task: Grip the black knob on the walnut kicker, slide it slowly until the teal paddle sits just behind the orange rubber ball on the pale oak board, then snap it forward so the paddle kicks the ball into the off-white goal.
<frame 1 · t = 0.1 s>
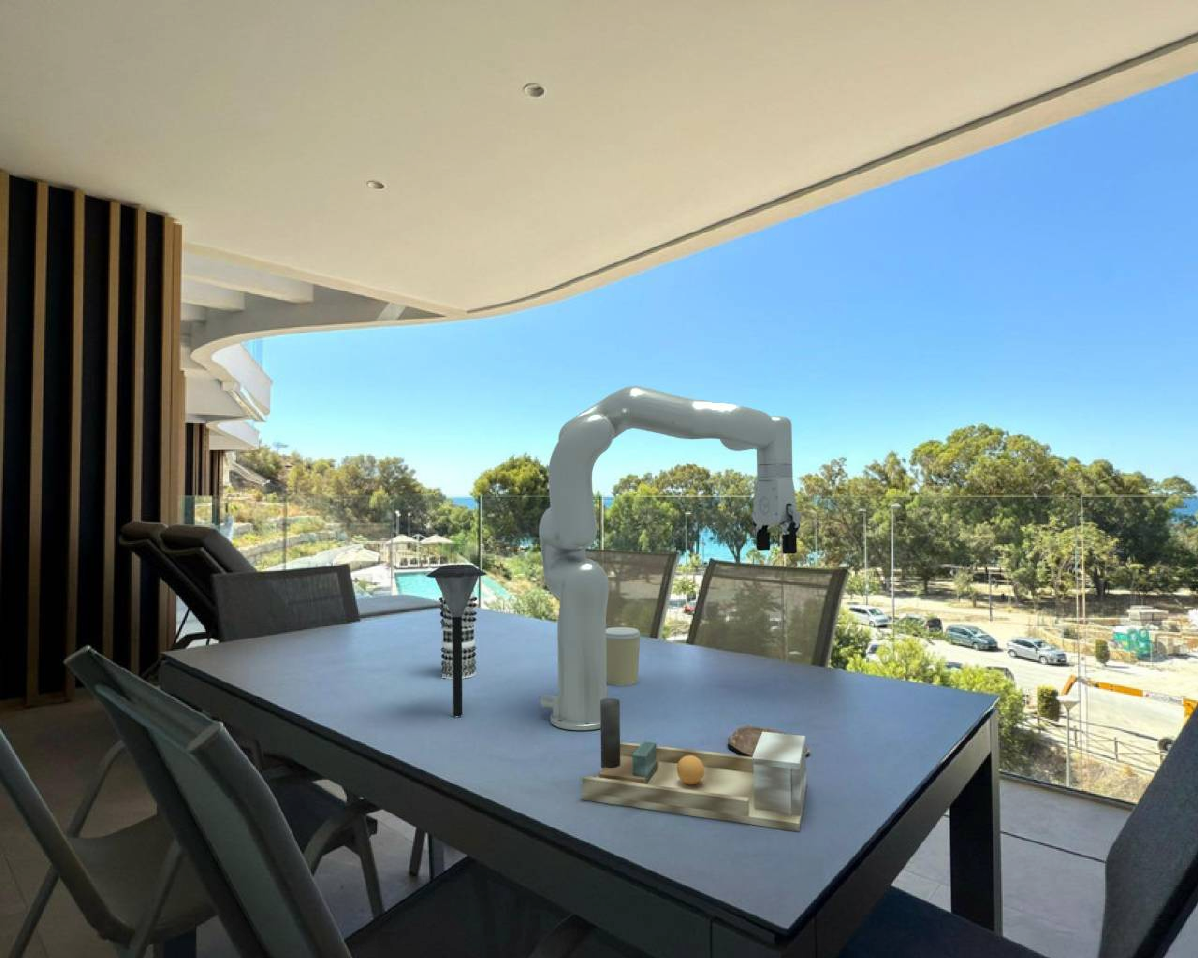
hand: (776, 551, 151), 31 cm above the table, tool pointing down, fingers open, 9 cm apart
coffee cup: (621, 682, 164), on the table
decorative candle: (458, 676, 171), on the table
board: (697, 791, 102), on the table
kicker: (625, 737, 106), point 7 cm above the table, slide at 0.0 cm
solar garden light: (457, 717, 139), on the table
ball: (690, 769, 102), point 3 cm above the table, touching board
shell: (763, 751, 119), on the table
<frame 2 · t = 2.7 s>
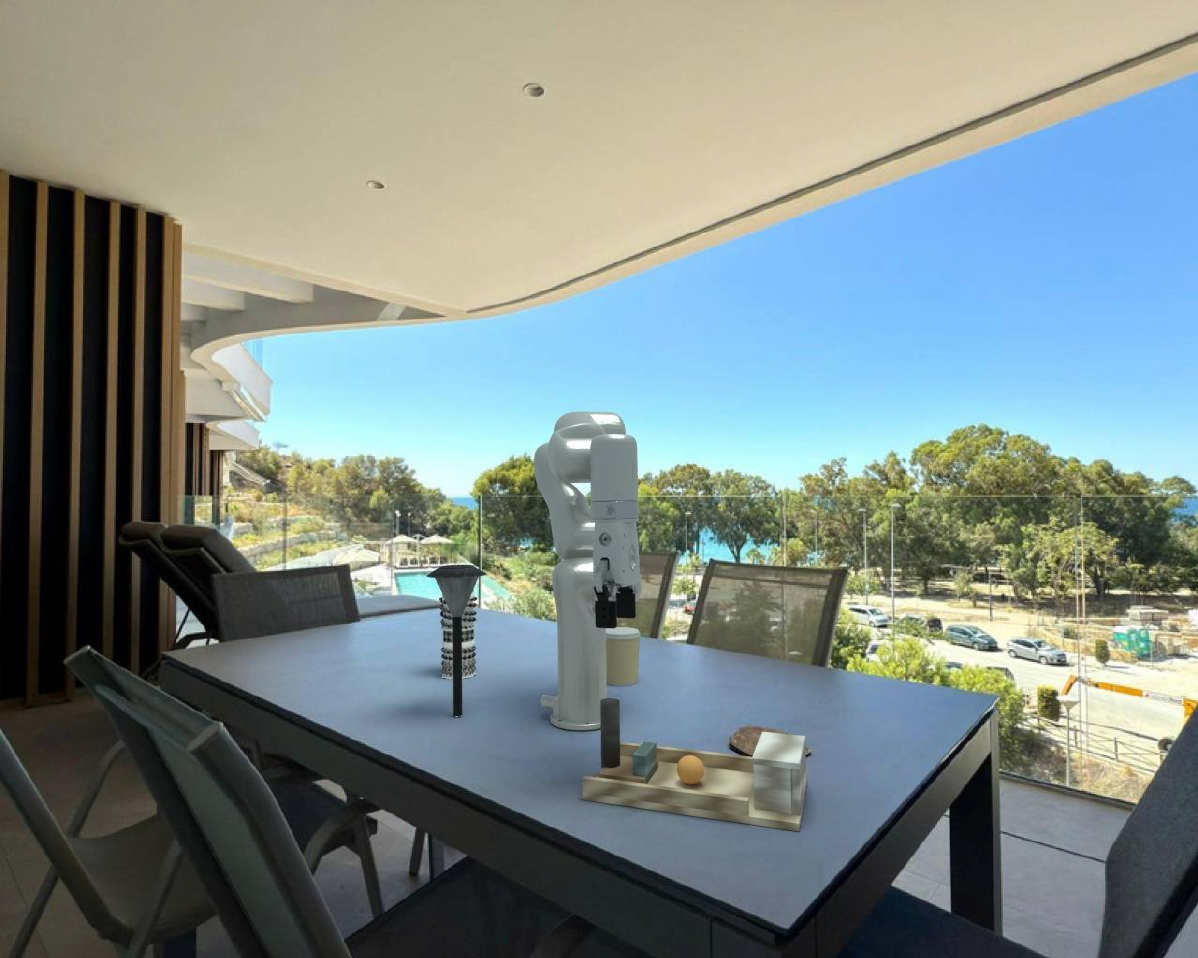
hand: (616, 622, 108), 24 cm above the table, tool pointing down, fingers open, 9 cm apart
nothing on the table moved.
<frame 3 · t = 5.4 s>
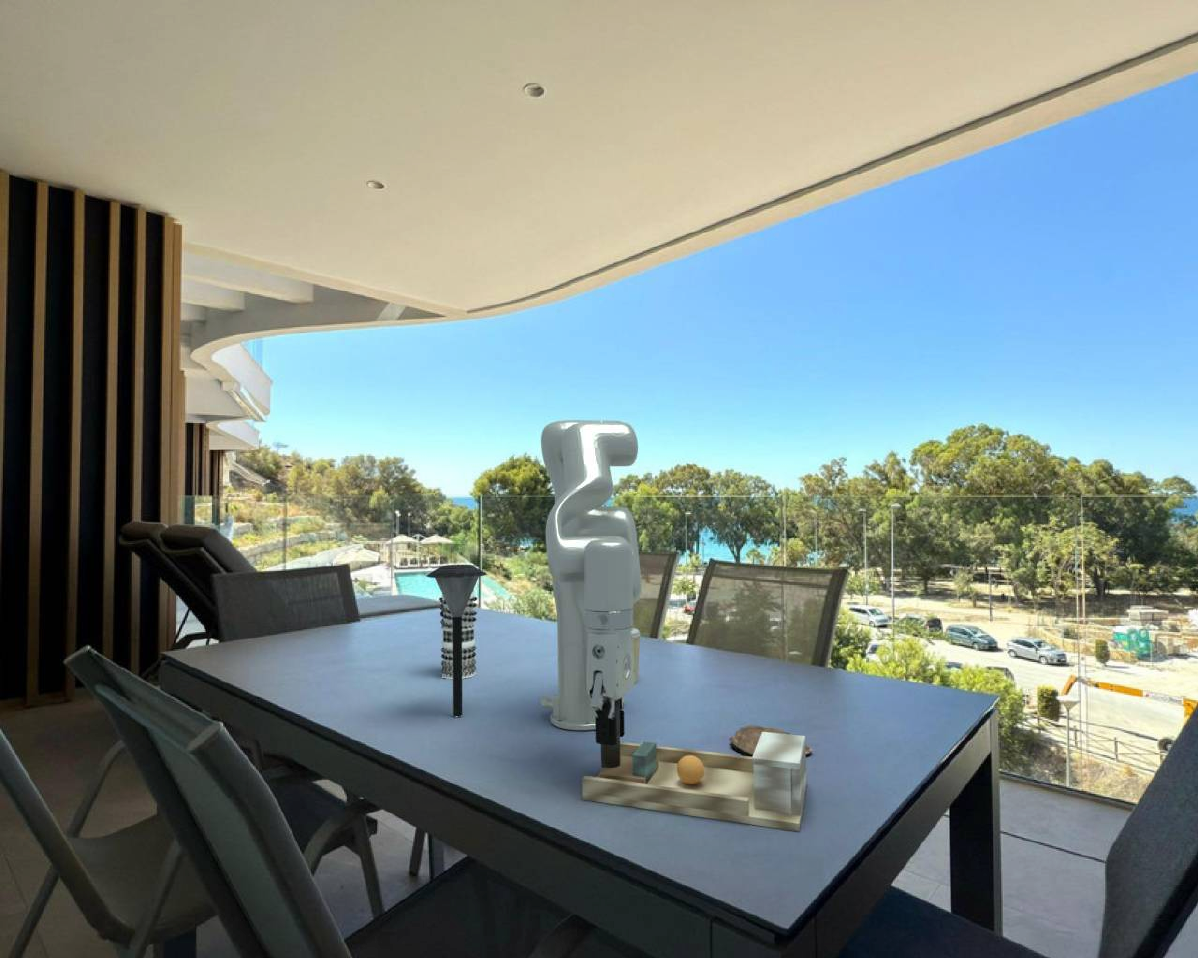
hand: (610, 738, 107), 6 cm above the table, tool pointing down, fingers closed on kicker, 3 cm apart
kicker: (625, 737, 106), point 7 cm above the table, slide at 0.0 cm, touching gripper
everything else where it was.
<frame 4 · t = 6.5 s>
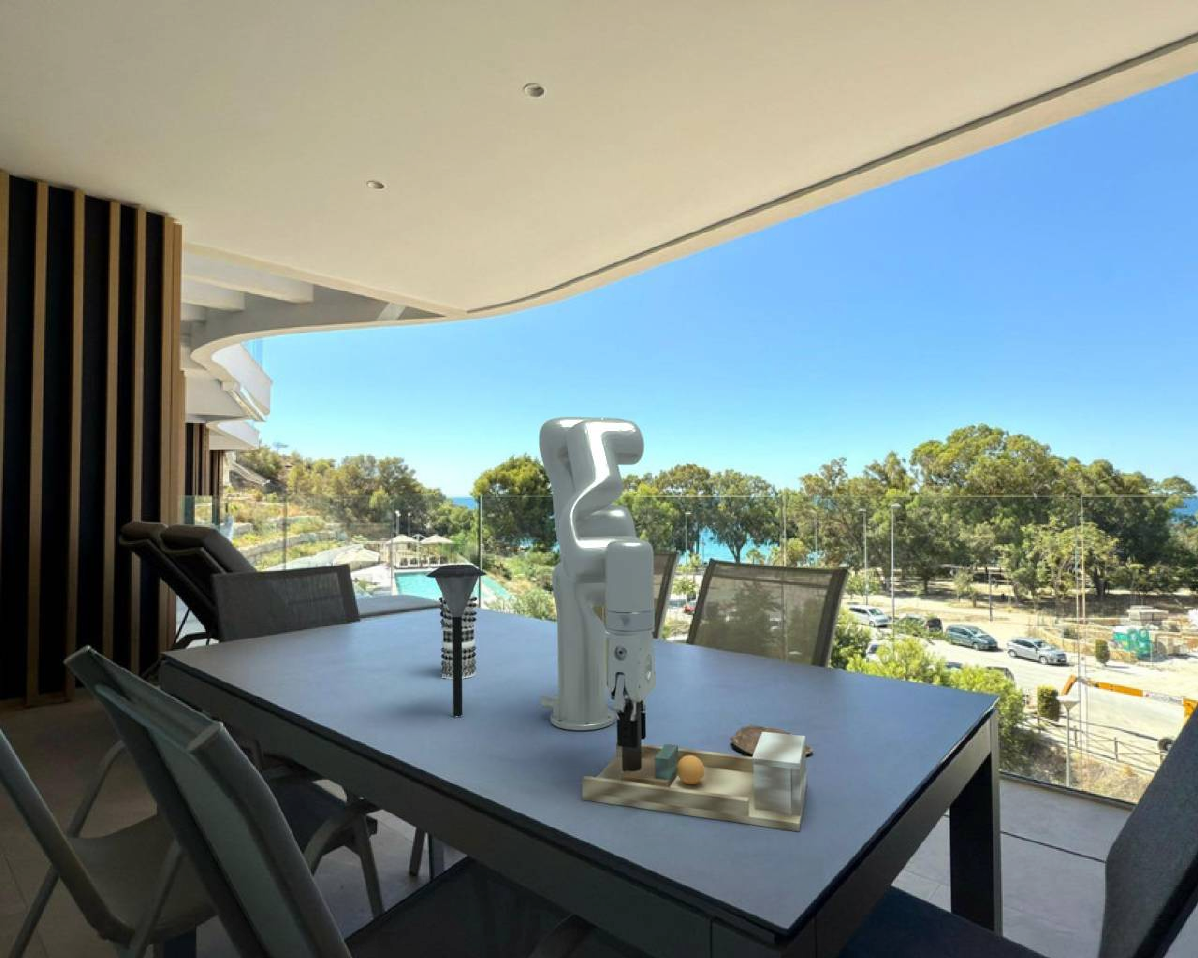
hand: (631, 740, 105), 6 cm above the table, tool pointing down, fingers closed on kicker, 3 cm apart
kicker: (647, 739, 105), point 7 cm above the table, slide at 3.4 cm, touching gripper
everything else where it was.
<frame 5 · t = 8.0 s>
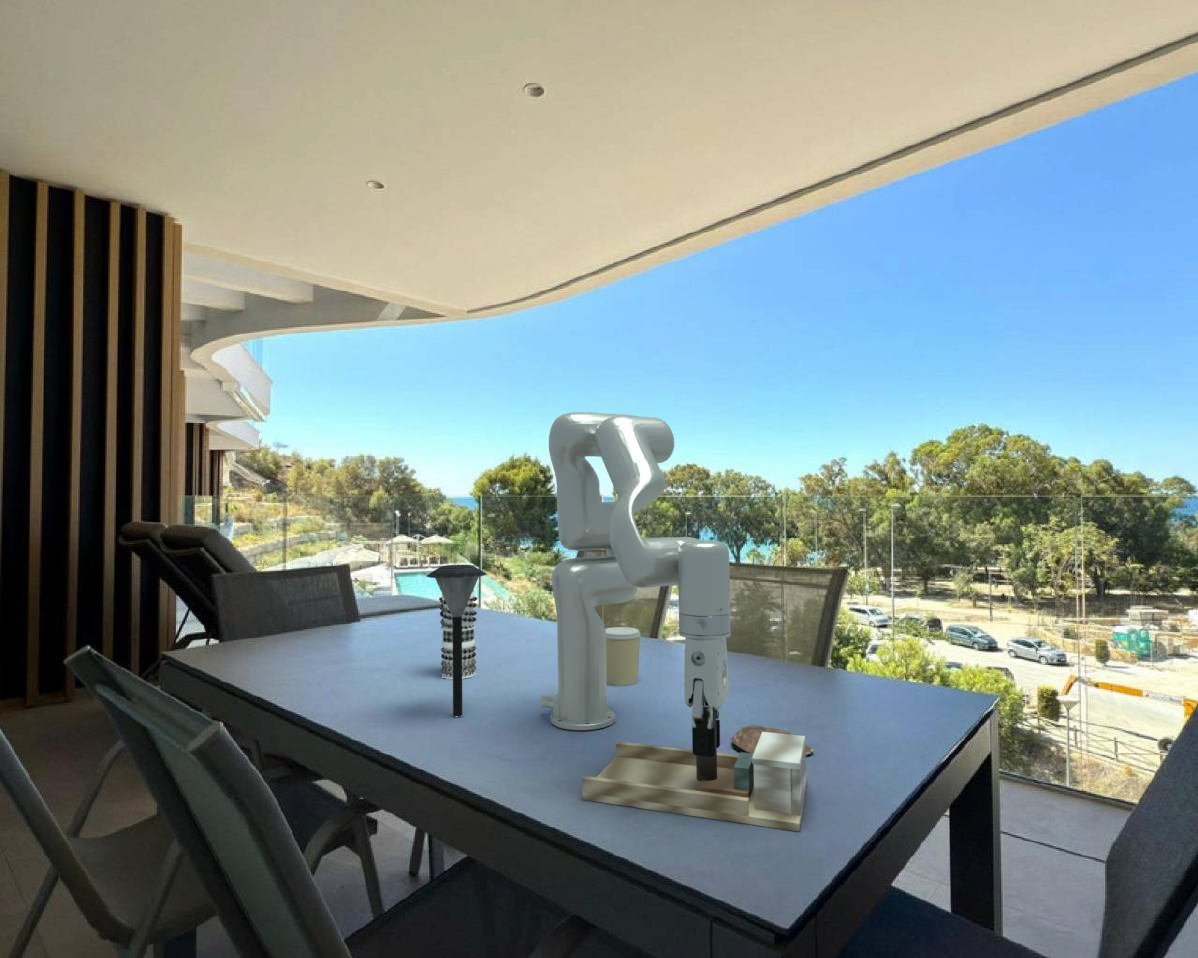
hand: (706, 749, 102), 6 cm above the table, tool pointing down, fingers closed on kicker, 3 cm apart
kicker: (723, 748, 101), point 7 cm above the table, slide at 14.9 cm, touching gripper
ball: (775, 780, 98), point 3 cm above the table, tilted 26°, touching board
everything else where it was.
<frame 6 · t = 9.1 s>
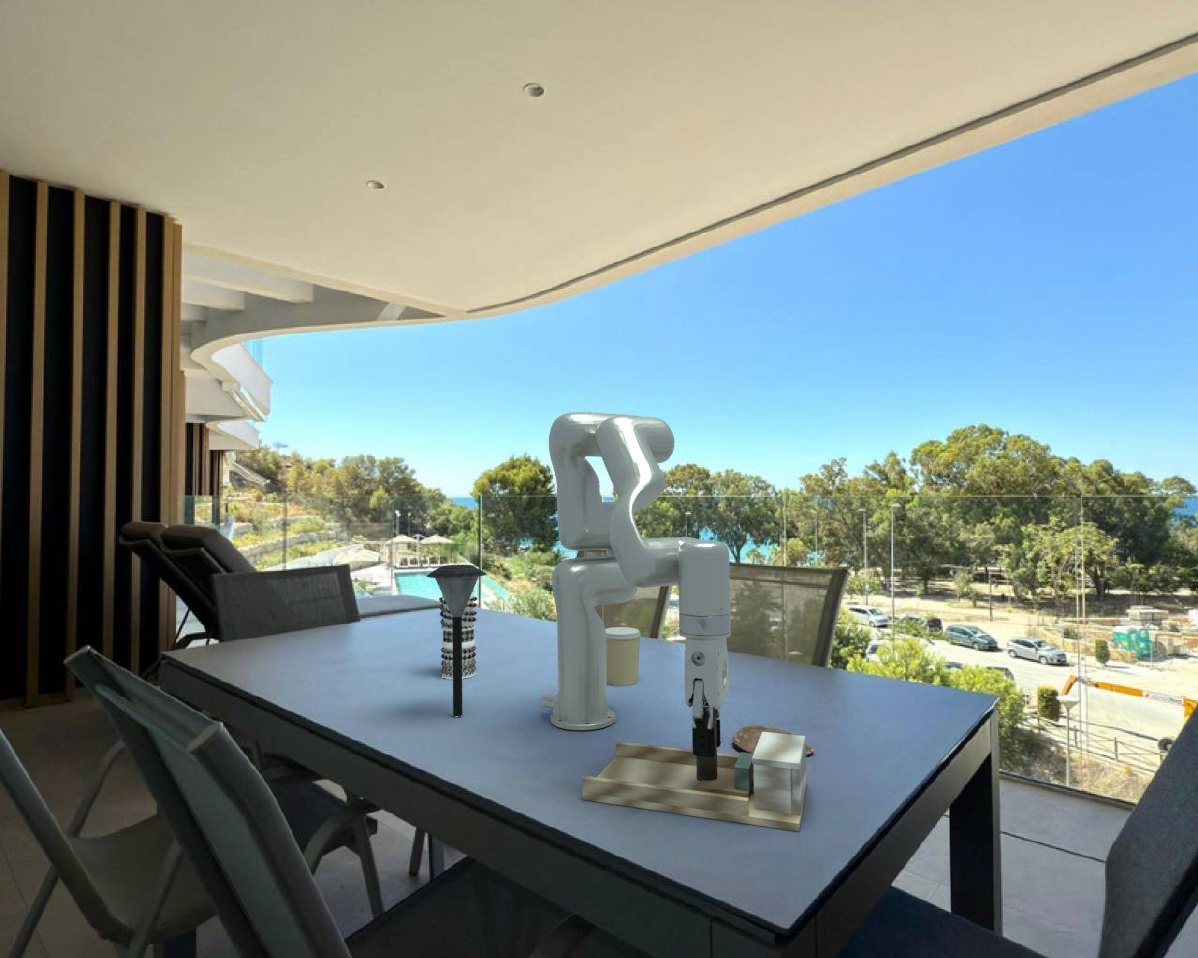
hand: (706, 749, 101), 6 cm above the table, tool pointing down, fingers open, 3 cm apart
kicker: (723, 748, 101), point 7 cm above the table, slide at 15.0 cm
ball: (766, 779, 98), point 3 cm above the table, tilted 61°, touching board
everything else where it was.
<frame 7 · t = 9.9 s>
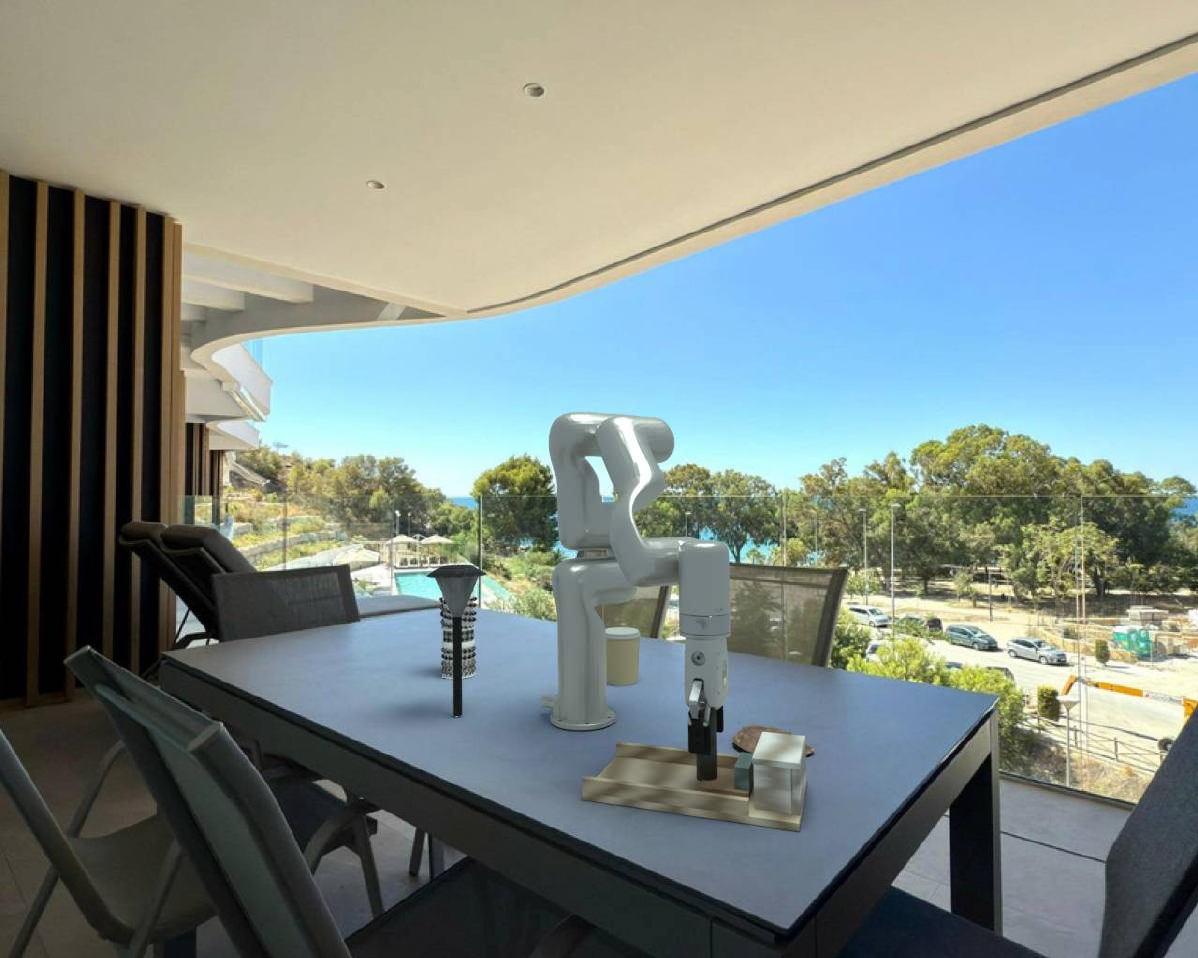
hand: (706, 741, 102), 7 cm above the table, tool pointing down, fingers open, 9 cm apart
nothing on the table moved.
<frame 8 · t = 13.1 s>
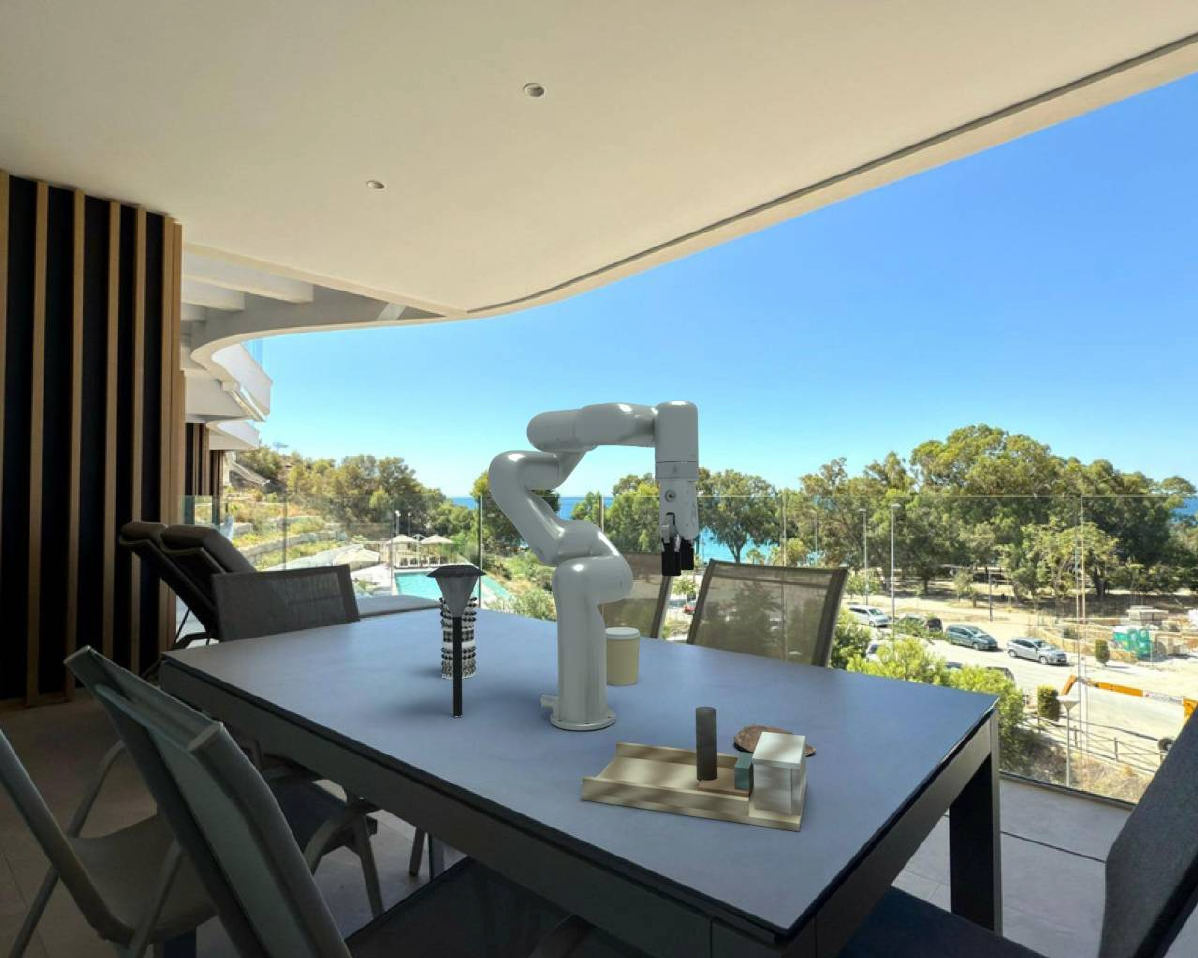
hand: (678, 572, 119), 30 cm above the table, tool pointing down, fingers open, 9 cm apart
ball: (772, 779, 98), point 3 cm above the table, tilted 39°, touching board
at the end: ball 0.9 cm from the target spot on the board, point 3.0 cm above the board's base; kicker slide at 15.0 cm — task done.
